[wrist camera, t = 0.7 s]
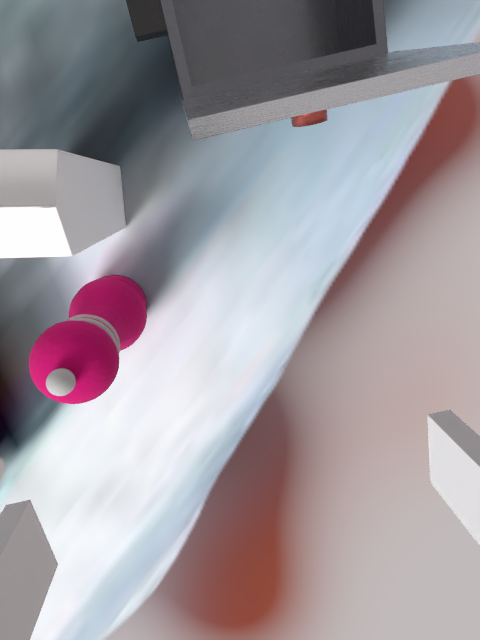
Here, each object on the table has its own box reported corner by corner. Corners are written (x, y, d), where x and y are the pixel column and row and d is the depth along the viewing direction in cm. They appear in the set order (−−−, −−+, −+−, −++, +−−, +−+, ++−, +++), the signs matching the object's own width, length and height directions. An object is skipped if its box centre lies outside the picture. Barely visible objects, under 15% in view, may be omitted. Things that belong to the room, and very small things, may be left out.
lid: (188, 120, 17) (203, 187, 19) (563, 33, 18) (550, 105, 19) (181, 100, 31) (191, 140, 32) (395, 51, 31) (395, 93, 32)
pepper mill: (146, 267, 44) (106, 328, 25) (155, 332, 46) (123, 432, 27) (77, 273, 43) (-19, 339, 24) (88, 337, 46) (9, 444, 27)
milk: (126, 227, 43) (57, 269, 22) (65, 228, 42) (-65, 273, 21) (120, 164, 41) (38, 143, 20) (56, 164, 40) (-97, 144, 19)
